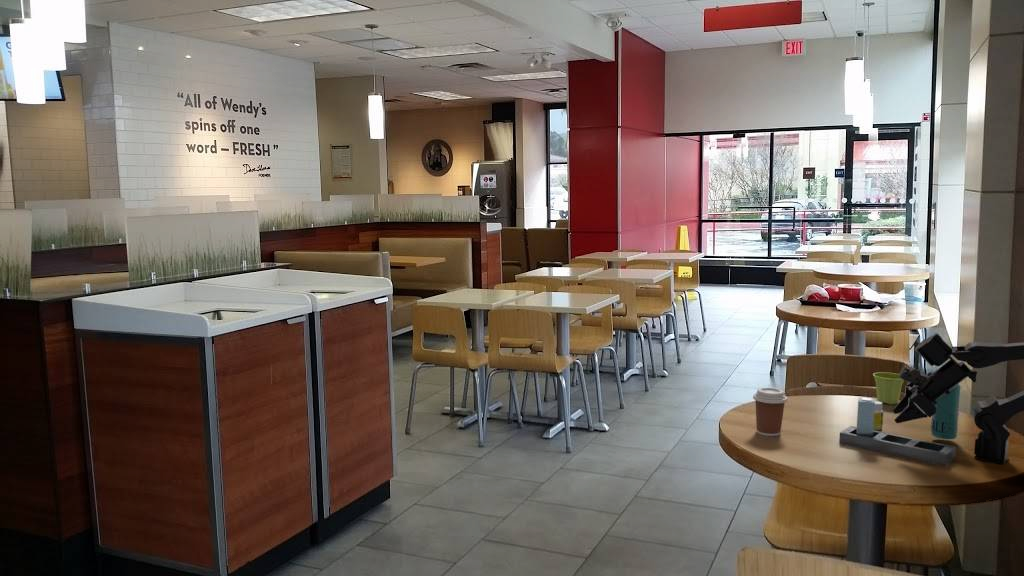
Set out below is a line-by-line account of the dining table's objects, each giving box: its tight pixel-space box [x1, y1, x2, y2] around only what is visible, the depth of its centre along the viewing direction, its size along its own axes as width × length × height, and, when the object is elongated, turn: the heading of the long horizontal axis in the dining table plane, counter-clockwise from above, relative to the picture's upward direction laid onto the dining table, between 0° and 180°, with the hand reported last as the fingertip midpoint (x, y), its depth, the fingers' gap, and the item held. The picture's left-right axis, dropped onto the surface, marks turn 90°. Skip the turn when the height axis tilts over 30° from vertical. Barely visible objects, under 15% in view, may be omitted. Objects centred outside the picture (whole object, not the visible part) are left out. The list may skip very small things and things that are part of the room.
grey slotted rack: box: [838, 425, 956, 467], centre depth 212 cm, size 26×8×3 cm, turn 48°
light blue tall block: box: [856, 397, 876, 438], centre depth 217 cm, size 4×4×12 cm
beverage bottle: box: [929, 383, 962, 440], centre depth 219 cm, size 6×7×20 cm
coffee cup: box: [752, 386, 788, 437], centre depth 226 cm, size 9×9×12 cm
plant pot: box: [872, 371, 905, 405], centre depth 259 cm, size 9×9×9 cm
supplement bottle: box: [873, 400, 884, 432], centre depth 228 cm, size 5×5×8 cm
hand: (894, 417), depth 214 cm, fingers open, 9 cm apart
